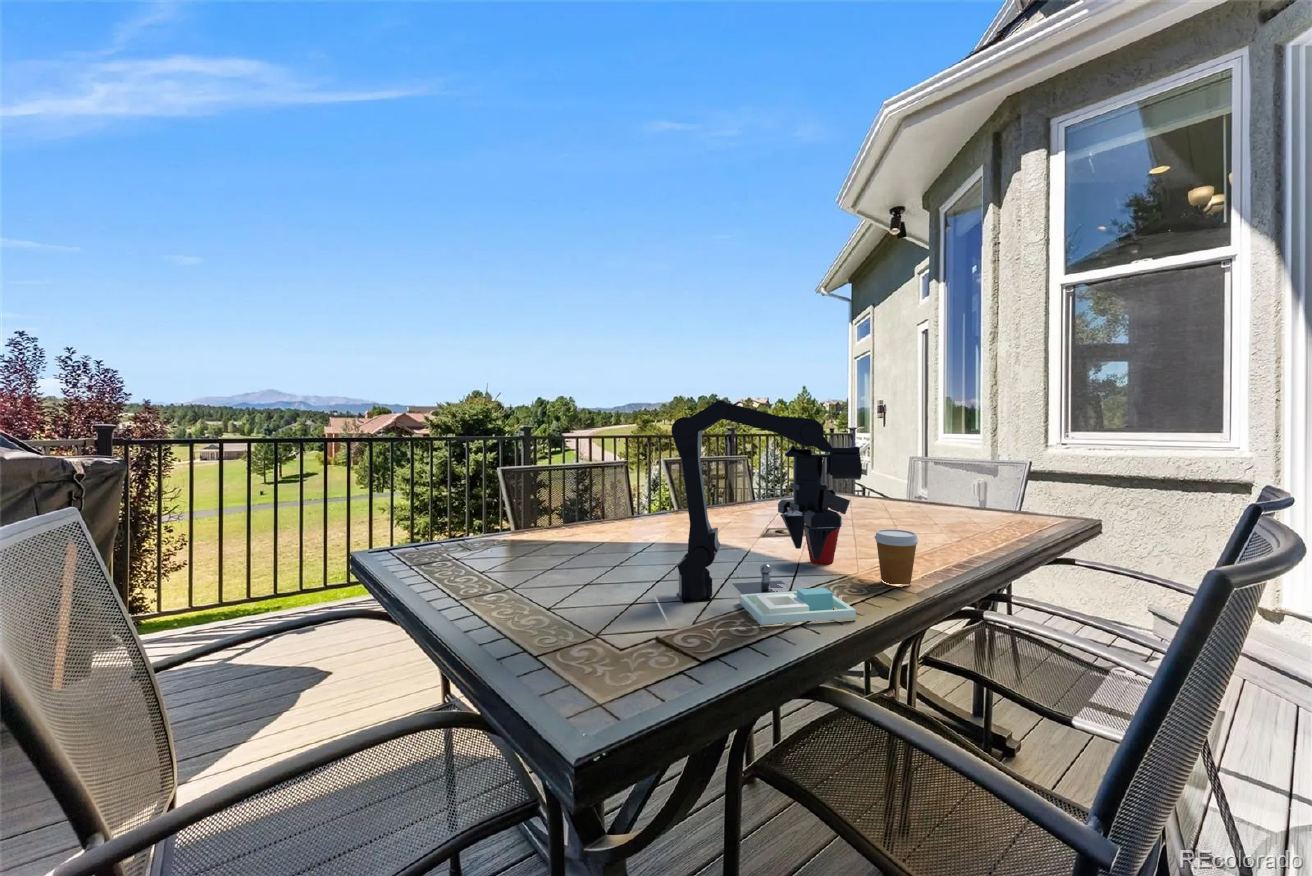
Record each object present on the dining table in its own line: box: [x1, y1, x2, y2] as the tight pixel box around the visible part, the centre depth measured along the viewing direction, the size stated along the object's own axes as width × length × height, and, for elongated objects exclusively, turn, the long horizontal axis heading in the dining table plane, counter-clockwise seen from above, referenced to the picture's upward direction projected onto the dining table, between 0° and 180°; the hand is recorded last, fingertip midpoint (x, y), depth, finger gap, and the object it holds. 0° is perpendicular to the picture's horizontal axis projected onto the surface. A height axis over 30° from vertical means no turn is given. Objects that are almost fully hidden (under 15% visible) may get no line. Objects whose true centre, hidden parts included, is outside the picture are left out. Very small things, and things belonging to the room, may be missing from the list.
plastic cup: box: [803, 521, 843, 566], centre depth 148 cm, size 11×11×12 cm
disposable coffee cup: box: [874, 528, 920, 584], centre depth 129 cm, size 10×10×12 cm
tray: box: [739, 590, 857, 625], centre depth 111 cm, size 19×13×2 cm
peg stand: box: [732, 563, 786, 594], centre depth 124 cm, size 12×12×6 cm
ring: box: [756, 587, 834, 614], centre depth 111 cm, size 14×8×4 cm, turn 99°
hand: (807, 553), depth 114 cm, fingers open, 9 cm apart
